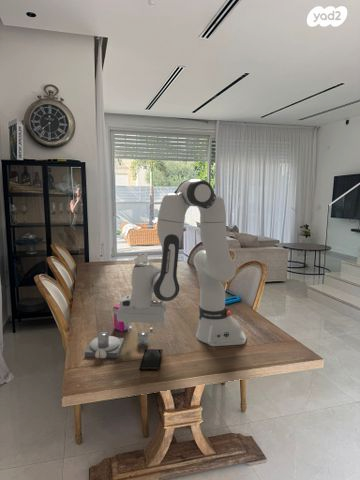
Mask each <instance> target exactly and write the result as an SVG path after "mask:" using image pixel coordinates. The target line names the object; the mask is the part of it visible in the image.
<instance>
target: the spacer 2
mask: <svg viewBox="0 0 360 480" xmlns="http://www.w3.org/2000/svg"><path fill="white" fill-rule="evenodd" d="M137 346H138V347H140V348H146V347H148V346H149V333H148V331H145V330H144V331H143V330H142V331H139V332H138V333H137Z"/></svg>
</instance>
